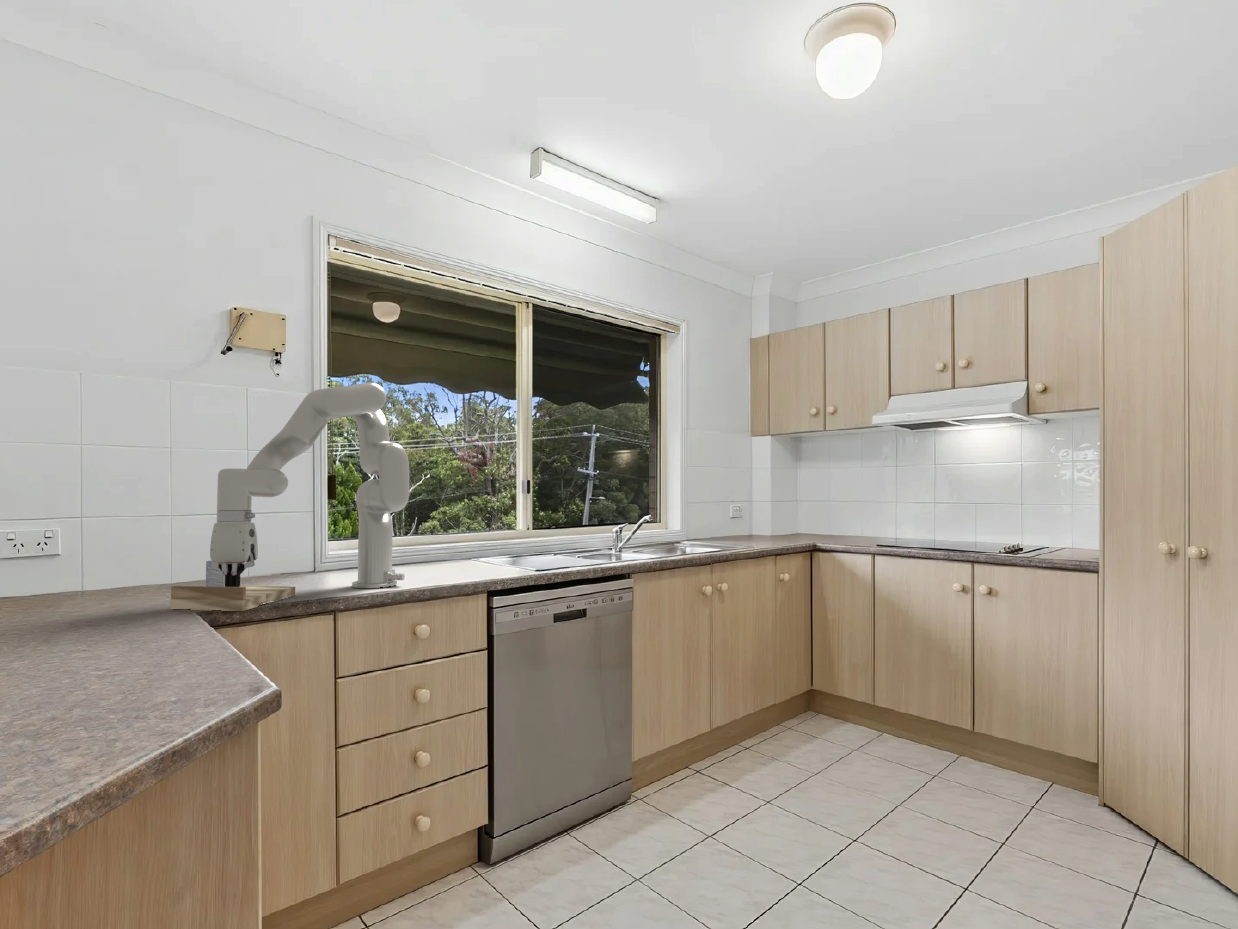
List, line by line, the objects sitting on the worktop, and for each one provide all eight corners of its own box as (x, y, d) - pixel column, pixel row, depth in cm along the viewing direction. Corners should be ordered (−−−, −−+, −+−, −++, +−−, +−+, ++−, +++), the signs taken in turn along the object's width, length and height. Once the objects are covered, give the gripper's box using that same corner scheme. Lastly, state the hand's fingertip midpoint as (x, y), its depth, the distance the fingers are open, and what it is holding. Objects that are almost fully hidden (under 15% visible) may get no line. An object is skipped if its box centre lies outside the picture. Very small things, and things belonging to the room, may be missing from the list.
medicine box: (238, 591, 187) (239, 560, 187) (223, 593, 183) (224, 561, 183) (220, 589, 190) (220, 558, 191) (204, 591, 186) (205, 560, 187)
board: (231, 594, 180) (231, 574, 180) (295, 596, 179) (295, 575, 179) (170, 609, 158) (171, 586, 158) (242, 611, 157) (243, 587, 157)
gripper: (271, 517, 171) (269, 588, 170) (216, 516, 172) (214, 588, 171) (253, 518, 163) (251, 593, 162) (195, 517, 164) (193, 592, 164)
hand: (232, 590), depth 167 cm, fingers closed
